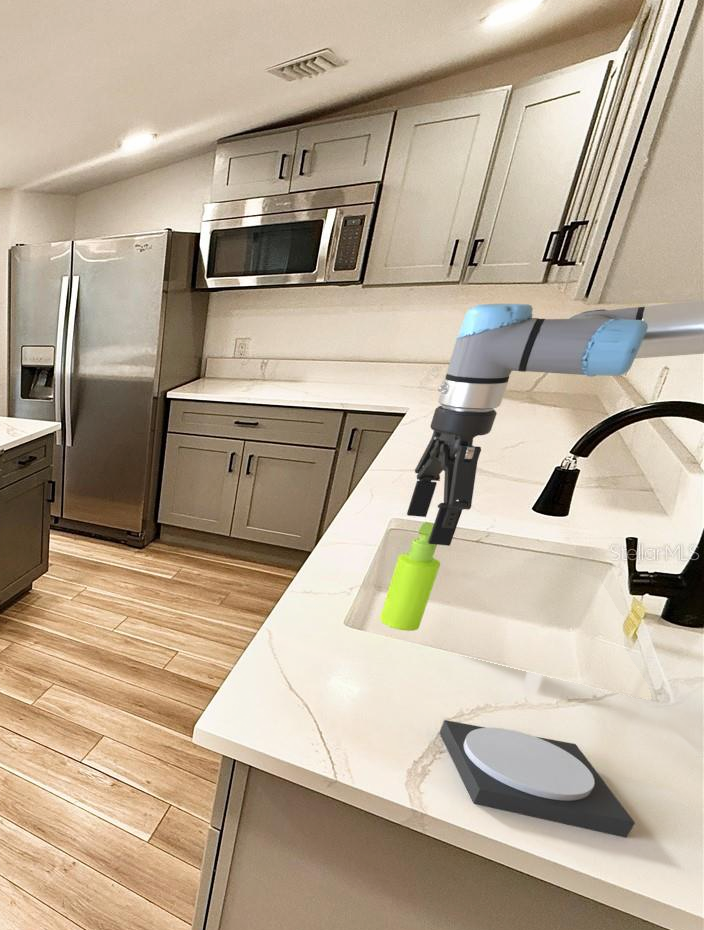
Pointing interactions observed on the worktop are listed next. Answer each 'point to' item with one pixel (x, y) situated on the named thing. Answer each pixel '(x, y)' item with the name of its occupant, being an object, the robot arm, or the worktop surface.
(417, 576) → the soap dispenser
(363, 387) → the worktop surface
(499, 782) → the scale
